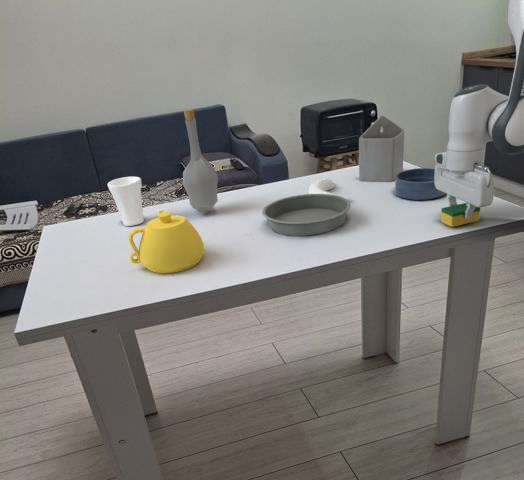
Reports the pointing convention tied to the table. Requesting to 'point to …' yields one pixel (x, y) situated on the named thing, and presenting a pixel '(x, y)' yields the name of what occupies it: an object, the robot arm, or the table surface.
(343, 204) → the cake pan
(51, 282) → the table surface
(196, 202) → the bottle
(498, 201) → the table surface
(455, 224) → the sponge
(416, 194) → the bowl
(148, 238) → the teapot
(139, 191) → the cup
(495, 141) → the robot arm
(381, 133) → the planter
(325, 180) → the white rounded piece
